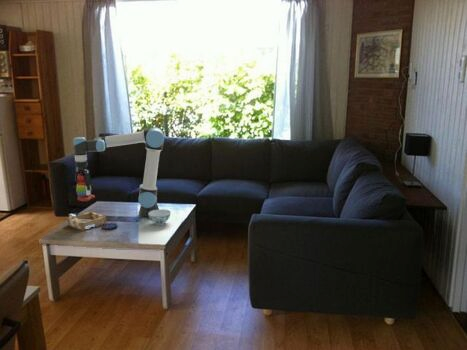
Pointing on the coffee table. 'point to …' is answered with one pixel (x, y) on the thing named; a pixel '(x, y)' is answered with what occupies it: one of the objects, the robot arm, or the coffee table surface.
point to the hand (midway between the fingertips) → (84, 193)
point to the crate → (94, 218)
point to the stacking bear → (82, 189)
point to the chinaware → (159, 216)
